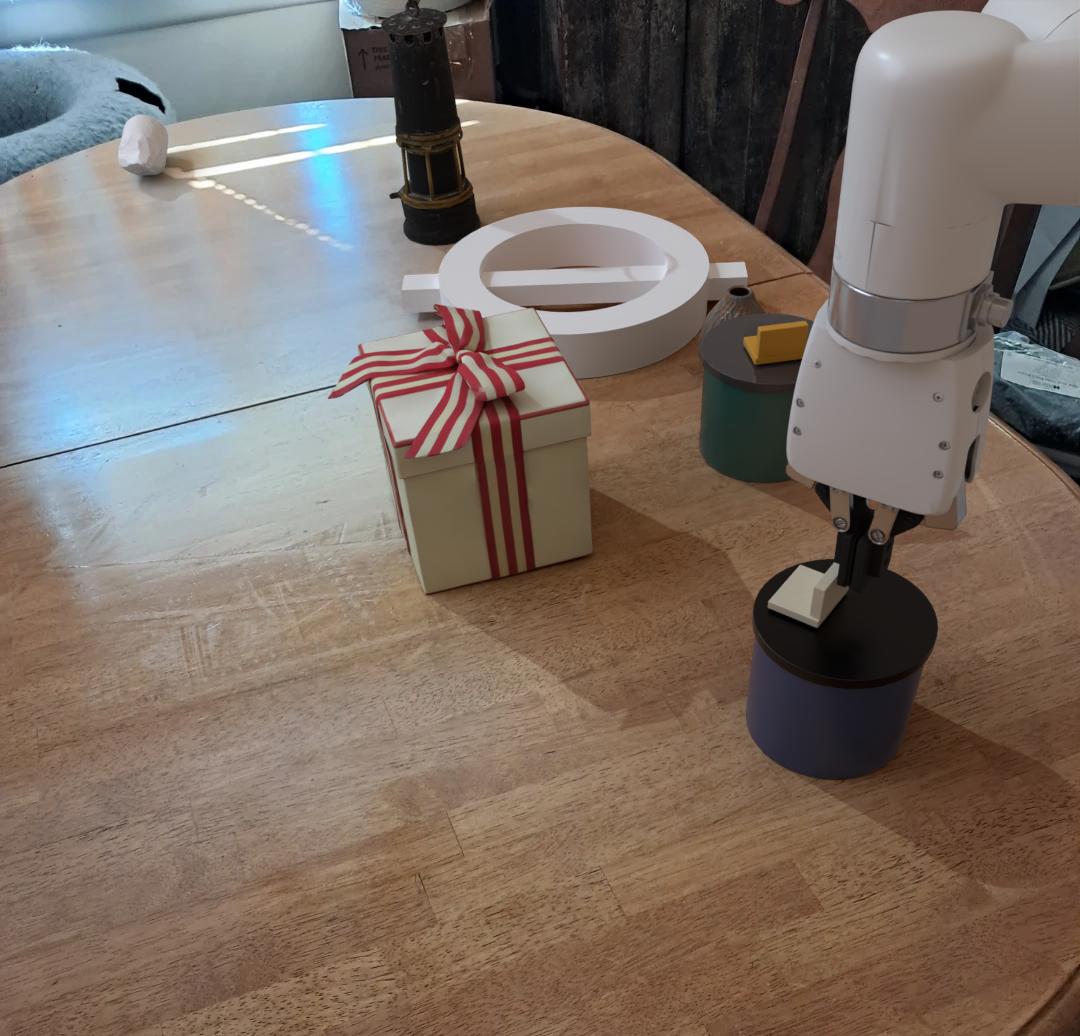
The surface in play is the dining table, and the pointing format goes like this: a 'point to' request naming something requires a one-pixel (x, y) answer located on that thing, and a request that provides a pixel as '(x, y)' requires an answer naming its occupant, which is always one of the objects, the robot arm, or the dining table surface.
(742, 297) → the vase
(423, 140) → the lantern
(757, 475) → the green lidded canister
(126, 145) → the white rock
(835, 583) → the slider
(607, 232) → the ring with crossbar
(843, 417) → the robot arm
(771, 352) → the slider
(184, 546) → the dining table surface
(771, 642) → the blue lidded jar
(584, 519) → the gift box
